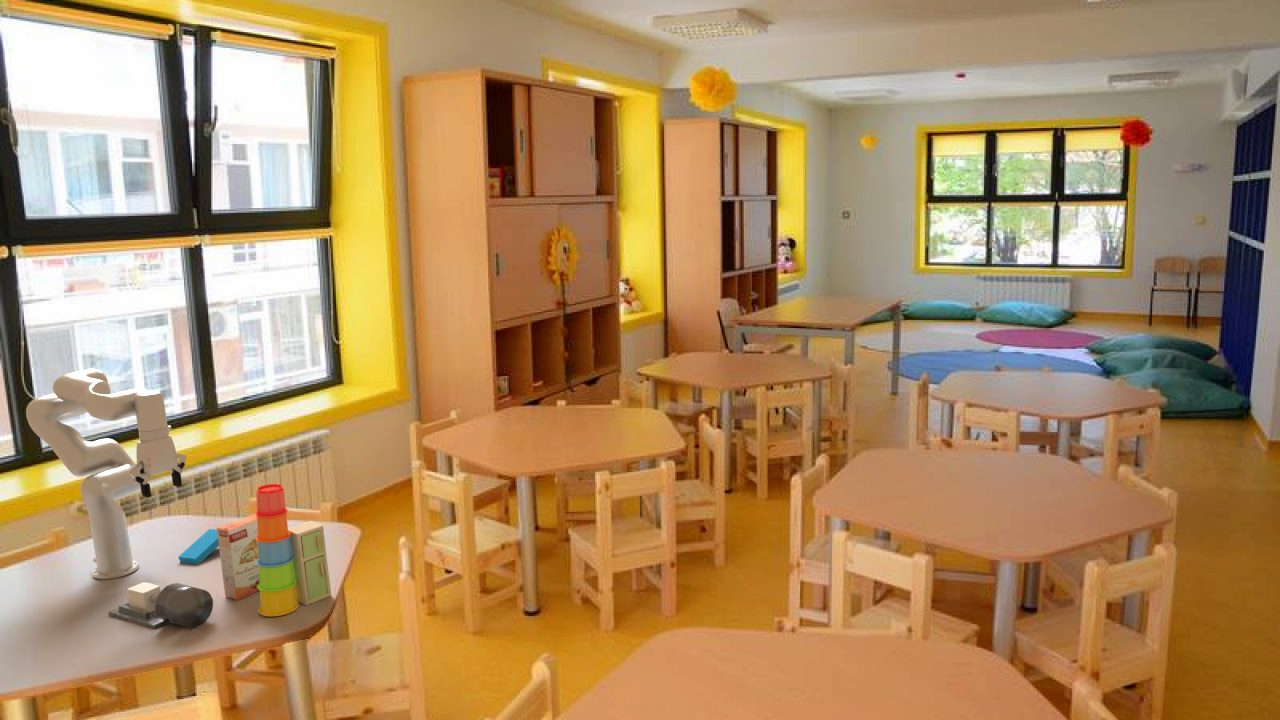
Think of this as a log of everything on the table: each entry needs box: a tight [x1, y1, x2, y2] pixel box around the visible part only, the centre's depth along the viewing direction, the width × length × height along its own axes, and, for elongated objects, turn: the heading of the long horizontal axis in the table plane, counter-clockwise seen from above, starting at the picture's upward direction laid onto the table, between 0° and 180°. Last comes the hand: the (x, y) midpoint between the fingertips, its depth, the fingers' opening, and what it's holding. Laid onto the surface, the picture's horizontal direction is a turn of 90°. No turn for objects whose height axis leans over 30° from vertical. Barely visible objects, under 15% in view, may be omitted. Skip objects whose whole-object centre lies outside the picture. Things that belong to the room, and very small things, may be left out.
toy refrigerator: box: [288, 520, 332, 606], centre depth 267 cm, size 8×7×21 cm
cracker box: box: [216, 513, 260, 601], centre depth 275 cm, size 14×6×21 cm, turn 148°
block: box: [126, 581, 162, 612], centre depth 265 cm, size 9×5×6 cm, turn 61°
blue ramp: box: [177, 528, 219, 565], centre depth 308 cm, size 7×7×18 cm
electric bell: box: [108, 582, 214, 630], centre depth 262 cm, size 30×12×10 cm, turn 61°
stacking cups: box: [254, 483, 300, 617], centre depth 260 cm, size 10×10×35 cm
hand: (162, 491), depth 279 cm, fingers open, 9 cm apart
